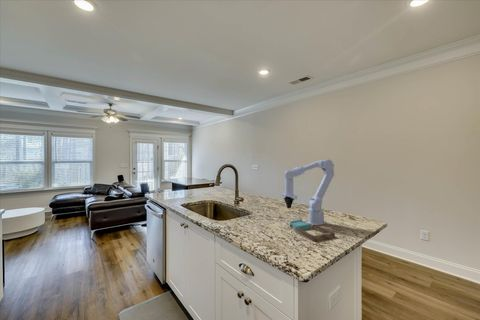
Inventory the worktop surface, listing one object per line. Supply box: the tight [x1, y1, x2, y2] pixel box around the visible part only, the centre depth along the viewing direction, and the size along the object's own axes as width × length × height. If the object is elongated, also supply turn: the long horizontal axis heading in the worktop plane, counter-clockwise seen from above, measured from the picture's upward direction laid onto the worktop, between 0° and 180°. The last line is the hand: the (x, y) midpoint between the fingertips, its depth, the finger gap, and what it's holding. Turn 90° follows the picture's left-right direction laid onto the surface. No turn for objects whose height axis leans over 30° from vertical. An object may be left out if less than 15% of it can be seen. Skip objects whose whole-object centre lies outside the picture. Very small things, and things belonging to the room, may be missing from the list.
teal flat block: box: [289, 218, 311, 231], centre depth 130 cm, size 10×8×4 cm
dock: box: [294, 225, 336, 242], centre depth 118 cm, size 15×15×2 cm
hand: (288, 208), depth 140 cm, fingers closed
